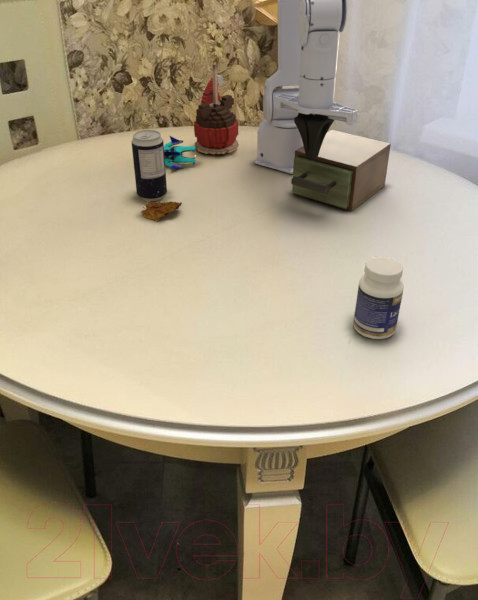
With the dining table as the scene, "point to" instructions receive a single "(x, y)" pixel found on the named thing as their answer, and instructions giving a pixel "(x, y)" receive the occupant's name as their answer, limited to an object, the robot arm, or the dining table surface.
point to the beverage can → (149, 165)
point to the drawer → (322, 181)
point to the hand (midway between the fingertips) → (311, 157)
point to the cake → (215, 120)
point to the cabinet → (355, 163)
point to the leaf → (159, 209)
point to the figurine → (177, 153)
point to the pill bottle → (379, 298)
